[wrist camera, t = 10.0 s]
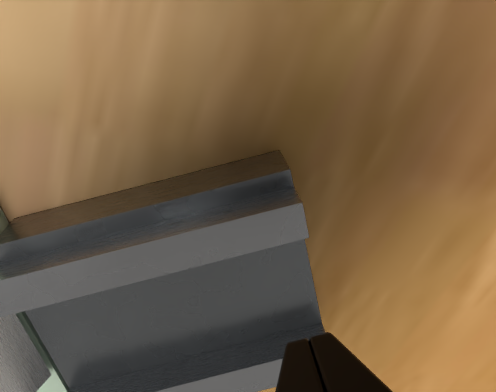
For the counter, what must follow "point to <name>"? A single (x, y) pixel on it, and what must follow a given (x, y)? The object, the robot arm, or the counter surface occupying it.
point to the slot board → (168, 281)
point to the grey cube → (19, 359)
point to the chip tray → (39, 342)
